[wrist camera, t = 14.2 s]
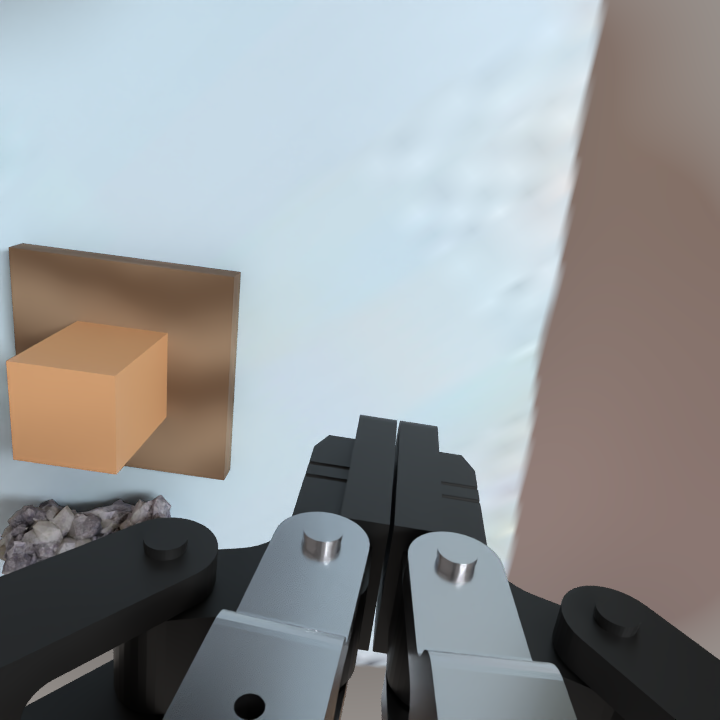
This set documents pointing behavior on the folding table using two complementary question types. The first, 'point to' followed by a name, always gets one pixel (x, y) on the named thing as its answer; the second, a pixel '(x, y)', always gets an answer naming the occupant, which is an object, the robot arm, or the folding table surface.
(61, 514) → the mineral specimen
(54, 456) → the tan wooden cube
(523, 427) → the folding table surface
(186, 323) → the post board
